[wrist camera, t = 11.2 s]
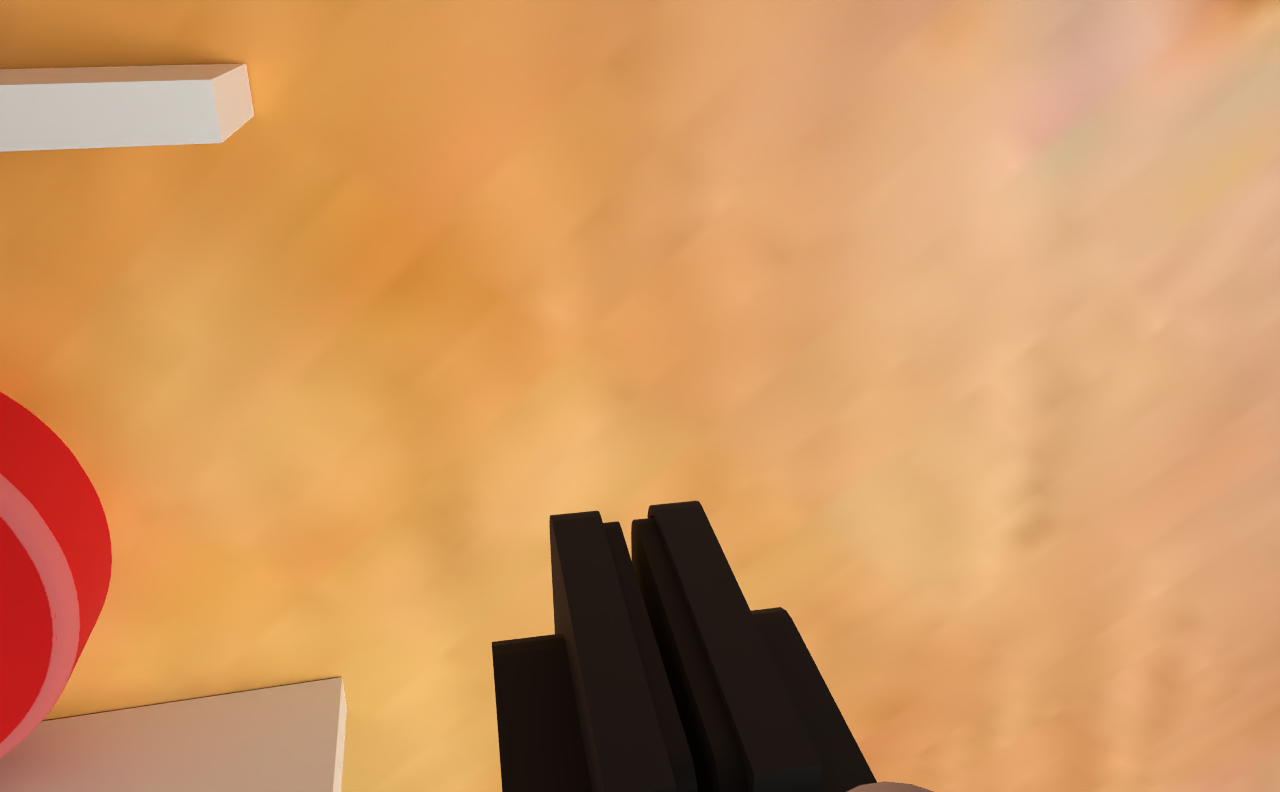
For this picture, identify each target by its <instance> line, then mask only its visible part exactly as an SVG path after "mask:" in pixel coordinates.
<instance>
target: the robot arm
mask: <svg viewBox="0 0 1280 792" xmlns="http://www.w3.org/2000/svg"><path fill="white" fill-rule="evenodd" d="M631 542H632V561H631V558H630V555H629V551H628V548H627V545H626V542H625V538H624V535H623V532H622V529H621V526H620V523H619V522H609V523H603V522H602V519H601V515H600V513H599V511H590V512H580V513H570V514H560V515H550V544H551V564H552V584H553V603H554V623H555V635H547V636H538V637H530V638H522V639H513V640H505V641H497V642H492V652H493V666H494V680H495V694H496V708H497V722H498V736H499V749H500V763H501V777H502V791H503V792H933V791H930V790H927V789H924V788H921V787H918V786H915V785H912V784H904V783H895V782H878V783H877V781H876V779H875V778H874V776H873V774H872V772H871V770H870V768H869V766H868V764H867V762H866V760H865V758H864V756H863V754H862V753H861V751H860V749H859V747H858V745H857V743H856V741H855V739H854V737H853V735H852V733H851V731H850V730H849V728H848V726H847V724H846V722H845V720H844V718H843V716H842V714H841V712H840V710H839V708H838V707H837V705H836V703H835V701H834V699H833V697H832V695H831V693H830V691H829V689H828V687H827V685H826V683H825V682H824V680H823V678H822V676H821V674H820V672H819V670H818V668H817V666H816V664H815V662H814V660H813V659H812V657H811V655H810V653H809V651H808V649H807V647H806V645H805V643H804V641H803V639H802V637H801V636H800V634H799V632H798V630H797V628H796V626H795V624H794V622H793V620H792V618H791V617H790V616H789V614H788V613H787V611H786V610H784V609H783V608H781V607H779V608H770V609H762V610H754V611H750V609H749V606H748V604H747V602H746V600H745V598H744V596H743V594H742V591H741V589H740V587H739V585H738V583H737V581H736V579H735V576H734V574H733V572H732V570H731V568H730V566H729V563H728V561H727V559H726V557H725V555H724V553H723V551H722V548H721V546H720V544H719V542H718V540H717V538H716V536H715V533H714V531H713V529H712V527H711V525H710V523H709V520H708V518H707V516H706V514H705V512H704V510H703V508H702V506H701V504H700V502H699V501H689V502H679V503H669V504H659V505H650V507H649V510H648V519H638V520H633V521H632V530H631Z"/></svg>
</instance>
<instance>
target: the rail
mask: <svg viewBox="0 0 1280 792" xmlns="http://www.w3.org/2000/svg"><path fill="white" fill-rule="evenodd" d="M253 116H254V111H253V104H252V98H251V92H250V85H249V79H248V72H247V66H246V63H239V64H197V65H154V66H112V67H70V68H28V69H0V152H4V151H29V150H55V149H80V148H106V147H131V146H157V145H182V144H208V143H223V142H224V141H225V140H226V139H227V138H228V137H230V136H231V135H232V134H233V133H234V132H235V131H237V130H238V129H239V128H240V127H241V126H242V125H244V124H245V123H246V122H247V121H248V120H249V119H251V118H252V117H253ZM346 714H347V705H346V699H345V692H344V686H343V680H342V677H339V678H333V679H326V680H319V681H312V682H306V683H299V684H292V685H285V686H279V687H272V688H265V689H258V690H251V691H245V692H238V693H231V694H224V695H218V696H211V697H204V698H197V699H191V700H184V701H177V702H170V703H164V704H157V705H150V706H143V707H137V708H130V709H123V710H116V711H109V712H103V713H96V714H89V715H82V716H76V717H69V718H62V719H55V720H49V721H42V722H41V723H40V724H39V725H38V726H37V727H36V728H35V729H34V730H33V731H32V732H31V733H30V734H29V735H28V736H27V737H26V738H25V739H24V740H23V741H22V742H21V743H20V744H19V745H17V746H16V747H15V748H13V749H12V750H11V751H10V752H8V753H7V754H6V755H4V756H3V757H1V758H0V792H341V785H342V771H343V757H344V743H345V729H346Z"/></svg>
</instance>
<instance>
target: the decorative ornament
mask: <svg viewBox="0 0 1280 792" xmlns="http://www.w3.org/2000/svg"><path fill="white" fill-rule="evenodd" d="M111 564H112V555H111V541H110V534H109V529H108V525H107V521H106V517H105V513H104V511H103V508H102V505H101V502H100V500H99V497H98V495H97V493H96V491H95V489H94V487H93V485H92V483H91V482H90V480H89V478H88V476H87V475H86V473H85V472H84V470H83V468H82V467H81V465H80V464H79V462H78V461H77V459H76V458H75V456H74V455H73V453H72V452H71V451H70V449H69V448H68V447H67V446H66V445H65V444H64V443H63V441H62V440H61V439H60V438H59V437H58V436H57V435H56V434H55V433H54V432H53V431H52V430H51V429H50V428H49V427H48V426H46V425H45V424H44V423H43V422H42V421H41V420H40V419H39V418H37V417H36V416H35V415H34V414H32V413H31V412H30V411H28V410H27V409H26V408H24V407H23V406H21V405H20V404H18V403H17V402H15V401H14V400H12V399H11V398H9V397H8V396H6V395H4V394H3V393H1V392H0V758H1V757H3V756H4V755H6V754H7V753H8V752H10V751H11V750H12V749H13V748H15V747H16V746H17V745H19V744H20V743H21V742H22V741H23V740H24V739H25V738H26V737H27V736H28V735H29V734H30V733H31V732H32V731H33V730H34V729H35V728H36V727H37V726H38V725H39V724H40V723H41V722H42V721H43V719H44V718H45V717H46V716H47V715H48V713H49V712H50V711H51V709H52V708H53V706H54V705H55V703H56V702H57V700H58V699H59V697H60V695H61V693H62V691H63V690H64V688H65V686H66V684H67V682H68V680H69V678H70V676H71V673H72V671H73V669H74V667H75V665H76V663H77V661H78V659H79V657H80V655H81V653H82V651H83V648H84V646H85V644H86V642H87V640H88V638H89V636H90V634H91V632H92V630H93V628H94V626H95V624H96V621H97V619H98V617H99V615H100V612H101V610H102V608H103V605H104V602H105V599H106V595H107V592H108V588H109V582H110V577H111Z"/></svg>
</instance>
